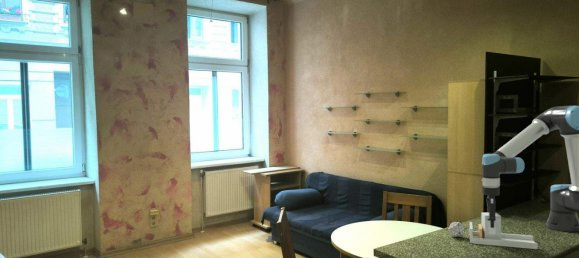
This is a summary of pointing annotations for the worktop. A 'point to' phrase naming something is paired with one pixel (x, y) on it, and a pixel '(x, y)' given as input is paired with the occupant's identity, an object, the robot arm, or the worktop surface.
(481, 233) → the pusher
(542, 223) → the worktop surface
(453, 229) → the game die
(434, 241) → the worktop surface
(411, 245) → the worktop surface
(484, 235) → the supplement box
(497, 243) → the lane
